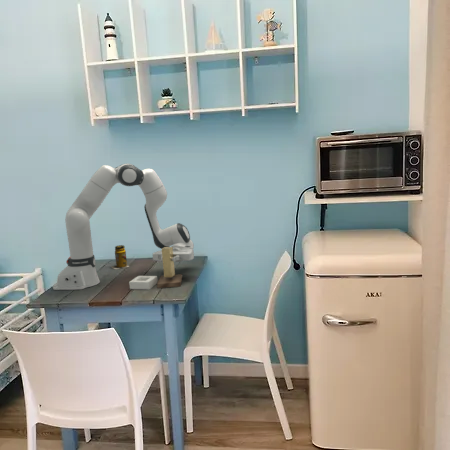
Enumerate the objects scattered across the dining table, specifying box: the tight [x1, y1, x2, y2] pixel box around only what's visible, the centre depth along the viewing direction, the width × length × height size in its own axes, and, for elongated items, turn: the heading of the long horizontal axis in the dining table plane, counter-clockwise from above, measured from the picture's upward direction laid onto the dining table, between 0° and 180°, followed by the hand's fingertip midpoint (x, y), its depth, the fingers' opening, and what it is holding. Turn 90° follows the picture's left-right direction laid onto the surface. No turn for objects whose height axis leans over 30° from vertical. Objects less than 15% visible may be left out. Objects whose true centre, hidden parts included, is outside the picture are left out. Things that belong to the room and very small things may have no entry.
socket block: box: [128, 275, 158, 290], centre depth 226 cm, size 10×10×4 cm
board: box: [156, 273, 183, 289], centre depth 229 cm, size 11×14×2 cm
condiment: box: [111, 244, 130, 270], centre depth 265 cm, size 7×8×12 cm
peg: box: [161, 246, 176, 277], centre depth 227 cm, size 4×4×14 cm
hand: (167, 259), depth 226 cm, fingers closed on peg, 4 cm apart
